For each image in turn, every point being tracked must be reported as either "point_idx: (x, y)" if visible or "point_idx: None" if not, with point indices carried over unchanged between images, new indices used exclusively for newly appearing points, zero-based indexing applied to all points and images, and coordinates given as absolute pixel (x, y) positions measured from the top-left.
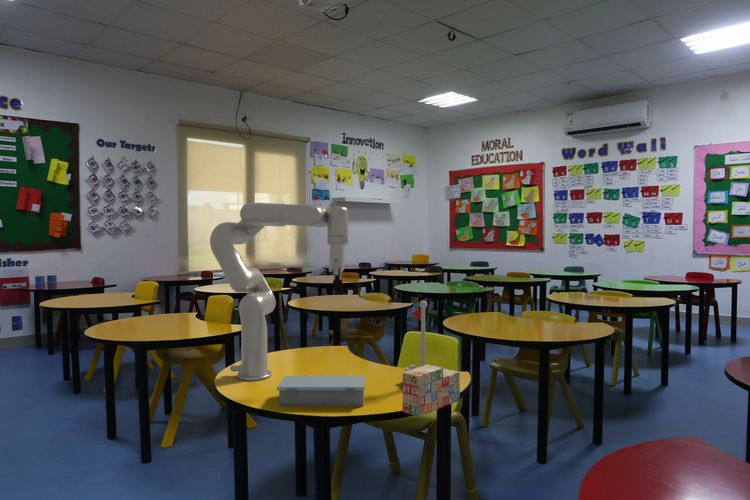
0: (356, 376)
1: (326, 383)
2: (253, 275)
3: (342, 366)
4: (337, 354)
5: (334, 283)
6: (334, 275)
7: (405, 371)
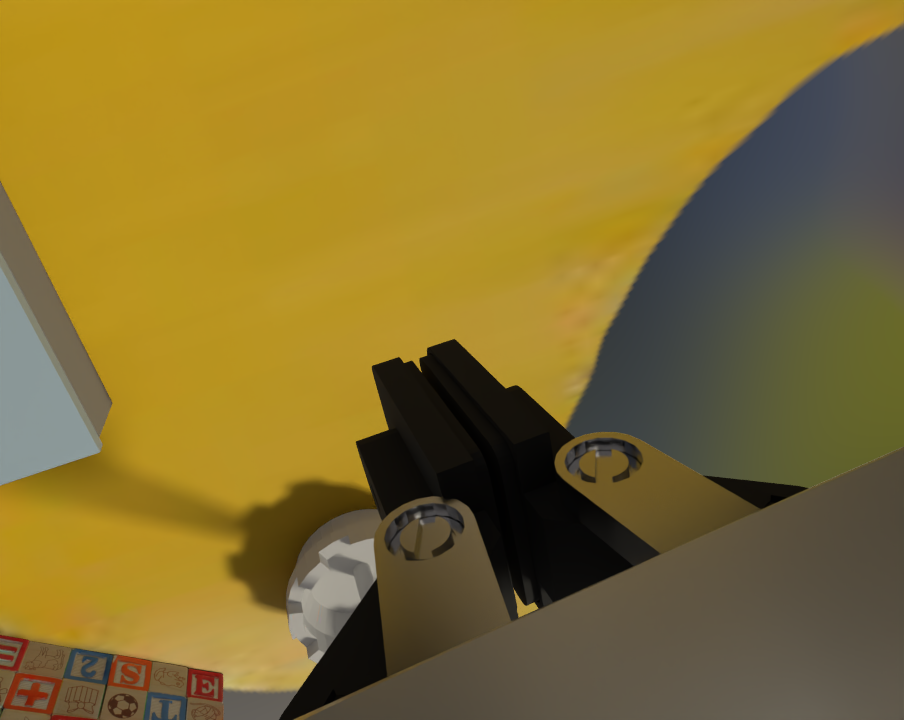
0: (63, 414)
1: None
2: None
3: (558, 136)
4: (787, 27)
5: (416, 460)
6: (304, 712)
7: (349, 538)
